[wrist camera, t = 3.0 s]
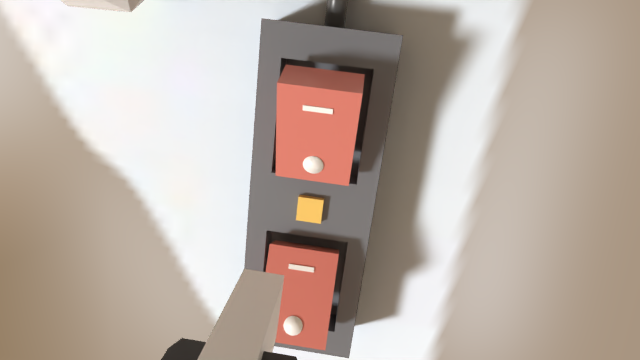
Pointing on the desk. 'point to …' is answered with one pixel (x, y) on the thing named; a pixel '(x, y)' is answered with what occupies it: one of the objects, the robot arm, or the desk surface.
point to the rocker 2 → (304, 291)
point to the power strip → (311, 196)
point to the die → (105, 4)
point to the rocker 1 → (317, 123)
